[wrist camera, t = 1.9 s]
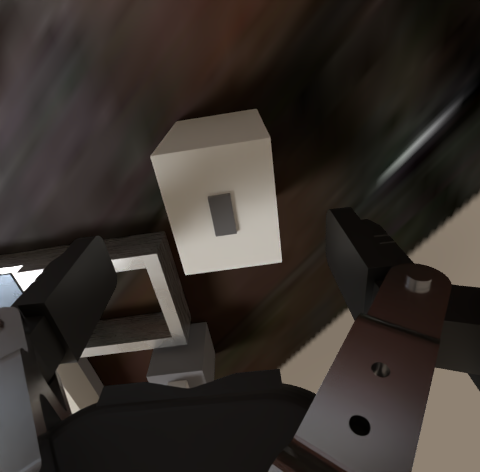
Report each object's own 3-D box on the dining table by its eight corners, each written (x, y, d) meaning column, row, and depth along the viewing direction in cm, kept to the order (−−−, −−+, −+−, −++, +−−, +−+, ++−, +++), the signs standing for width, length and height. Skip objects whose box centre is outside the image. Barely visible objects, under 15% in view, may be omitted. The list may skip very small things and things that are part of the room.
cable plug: (159, 327, 23) (141, 395, 18) (206, 321, 23) (200, 388, 18) (171, 358, 24) (158, 427, 20) (215, 353, 24) (211, 421, 20)
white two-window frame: (-177, 279, 20) (-224, 306, 18) (164, 231, 19) (156, 253, 16) (-98, 354, 23) (-130, 383, 21) (191, 317, 22) (187, 344, 20)
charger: (176, 121, 15) (148, 157, 10) (256, 108, 15) (271, 138, 10) (197, 211, 18) (184, 277, 13) (266, 201, 18) (282, 264, 13)
